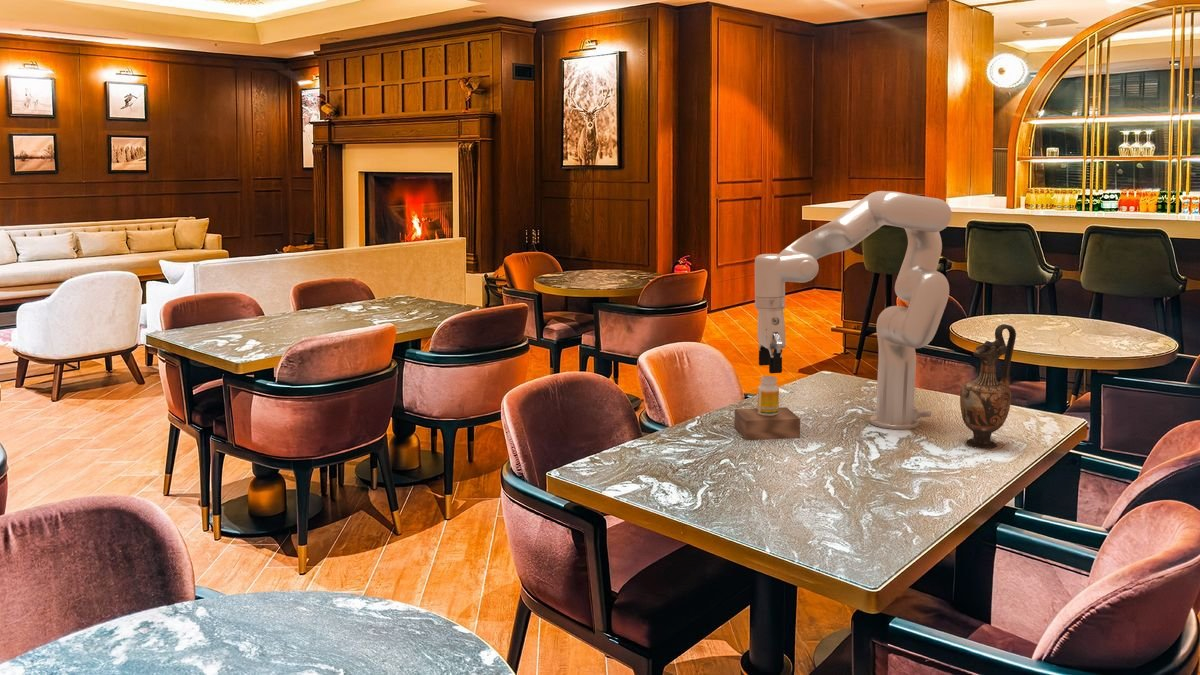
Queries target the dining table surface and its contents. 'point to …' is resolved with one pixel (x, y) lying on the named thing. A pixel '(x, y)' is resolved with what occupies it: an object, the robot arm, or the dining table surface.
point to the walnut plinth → (767, 424)
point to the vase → (988, 391)
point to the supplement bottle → (768, 396)
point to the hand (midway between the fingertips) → (770, 368)
